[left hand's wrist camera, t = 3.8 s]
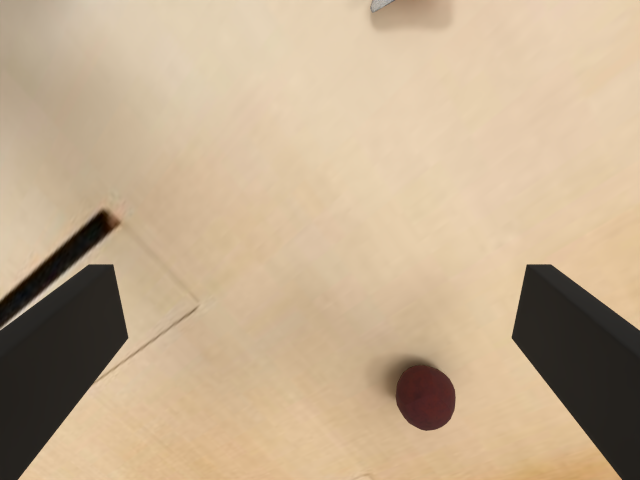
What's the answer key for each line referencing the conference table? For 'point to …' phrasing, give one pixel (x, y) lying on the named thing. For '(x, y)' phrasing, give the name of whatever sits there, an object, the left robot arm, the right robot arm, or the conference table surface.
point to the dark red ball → (425, 397)
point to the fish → (379, 4)
